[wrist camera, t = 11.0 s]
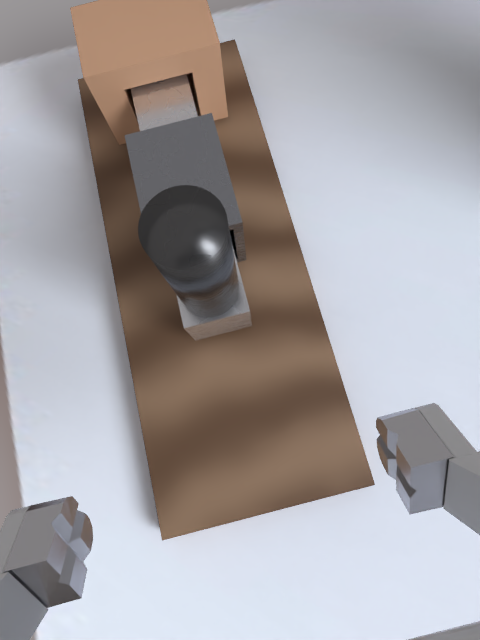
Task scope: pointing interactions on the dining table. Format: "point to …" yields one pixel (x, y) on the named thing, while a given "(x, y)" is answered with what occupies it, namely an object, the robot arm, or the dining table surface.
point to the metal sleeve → (185, 166)
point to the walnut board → (229, 348)
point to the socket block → (148, 54)
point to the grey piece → (190, 230)
